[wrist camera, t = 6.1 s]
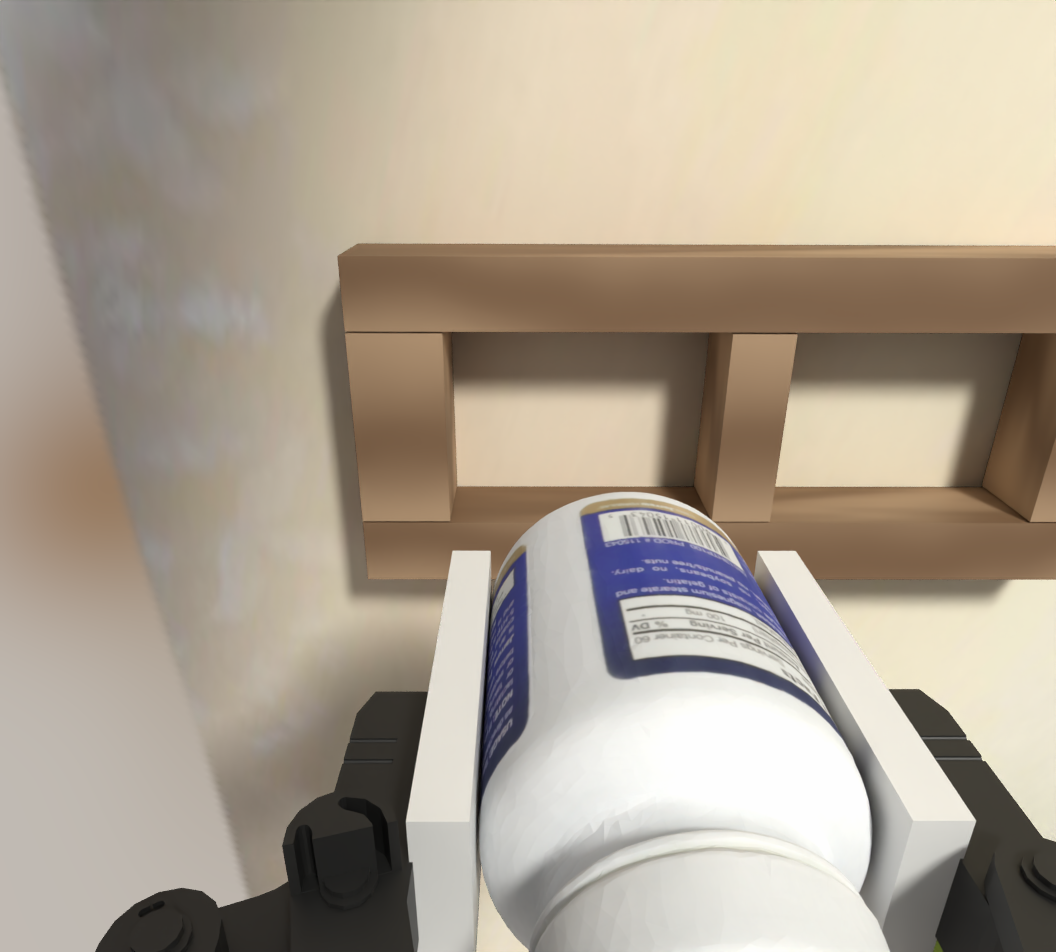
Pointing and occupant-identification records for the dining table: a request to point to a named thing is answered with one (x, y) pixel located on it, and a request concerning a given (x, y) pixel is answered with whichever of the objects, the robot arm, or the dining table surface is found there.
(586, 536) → the pill bottle
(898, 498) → the wooden frame
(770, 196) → the dining table surface
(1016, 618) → the dining table surface
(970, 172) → the dining table surface
